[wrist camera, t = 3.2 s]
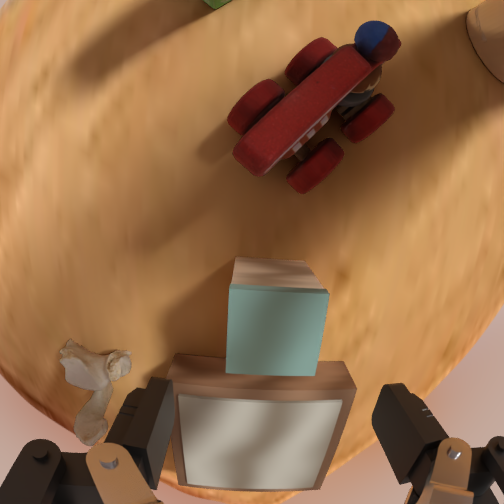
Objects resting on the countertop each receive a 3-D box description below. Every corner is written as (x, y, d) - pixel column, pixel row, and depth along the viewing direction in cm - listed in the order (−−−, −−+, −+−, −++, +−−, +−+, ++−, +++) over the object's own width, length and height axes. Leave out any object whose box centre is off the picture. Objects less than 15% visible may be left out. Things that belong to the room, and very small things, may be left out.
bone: (76, 298, 21) (77, 412, 14) (143, 323, 25) (167, 426, 18) (48, 356, 23) (49, 453, 16) (105, 373, 27) (120, 463, 20)
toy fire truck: (395, 102, 20) (478, 64, 10) (281, 209, 22) (309, 234, 12) (332, 37, 19) (380, -38, 9) (211, 139, 21) (179, 103, 10)
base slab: (343, 361, 24) (358, 391, 20) (314, 462, 27) (320, 491, 23) (175, 353, 24) (163, 383, 20) (184, 457, 27) (178, 487, 23)
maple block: (305, 260, 22) (329, 294, 16) (297, 323, 24) (314, 376, 17) (235, 255, 22) (229, 288, 15) (231, 320, 23) (225, 373, 17)
